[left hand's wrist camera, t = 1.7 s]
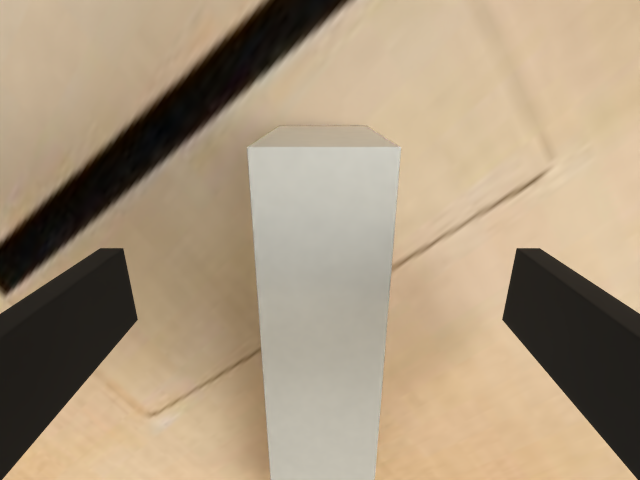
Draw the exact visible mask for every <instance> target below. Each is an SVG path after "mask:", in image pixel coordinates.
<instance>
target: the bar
mask: <svg viewBox="0 0 640 480" xmlns="http://www.w3.org/2000/svg"><path fill="white" fill-rule="evenodd" d="M247 156H248V170H249V184H250V198H251V212H252V226H253V240H254V254H255V268H256V282H257V296H258V310H259V324H260V338H261V352H262V366H263V380H264V394H265V408H266V422H267V436H268V450H269V465H270V479H271V480H375V471H376V458H377V446H378V433H379V421H380V408H381V395H382V383H383V370H384V358H385V345H386V332H387V320H388V307H389V295H390V282H391V269H392V257H393V244H394V231H395V219H396V206H397V194H398V181H399V168H400V156H401V147H400V146H398V145H397V144H395V143H393V142H392V141H390V140H389V139H387V138H386V137H384V136H382V135H381V134H379V133H378V132H376V131H375V130H373V129H371V128H370V127H368V126H278V127H277V128H275V129H274V130H272V131H271V132H269V133H268V134H266V135H265V136H263V137H262V138H260V139H259V140H257V141H256V142H254V143H253V144H251V145H250V146H248V147H247Z"/></svg>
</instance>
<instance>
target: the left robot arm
mask: <svg viewBox="0 0 640 480" xmlns="http://www.w3.org/2000/svg"><path fill="white" fill-rule="evenodd" d="M137 320H138V319H137V314H136V309H135V304H134V299H133V294H132V289H131V284H130V279H129V274H128V269H127V265H126V260H125V255H124V250H123V248H100V249H99V250H97V251H96V252H94V253H93V254H91V255H90V256H88V257H86V258H85V259H83V260H82V261H80V262H79V263H77V264H76V265H74V266H73V267H71V268H70V269H68V270H67V271H65V272H64V273H62V274H61V275H59V276H57V277H56V278H54V279H53V280H51V281H50V282H48V283H47V284H45V285H44V286H42V287H41V288H39V289H38V290H36V291H35V292H33V293H32V294H30V295H28V296H27V297H25V298H24V299H22V300H21V301H19V302H18V303H16V304H15V305H13V306H12V307H10V308H9V309H7V310H6V311H4V312H3V313H1V314H0V480H2V479H3V478H4V477H5V476H6V474H7V473H8V472H9V471H10V470H11V469H12V467H13V466H14V465H15V464H16V463H17V461H18V460H19V459H20V458H21V457H22V456H23V454H24V453H25V452H26V451H27V450H28V448H29V447H30V446H31V445H32V444H33V443H34V441H35V440H36V439H37V438H38V437H39V435H40V434H41V433H42V432H43V431H44V430H45V428H46V427H47V426H48V425H49V424H50V422H51V421H52V420H53V419H54V418H55V417H56V415H57V414H58V413H59V412H60V411H61V409H62V408H63V407H64V406H65V405H66V404H67V402H68V401H69V400H70V399H71V398H72V397H73V395H74V394H75V393H76V392H77V391H78V389H79V388H80V387H81V386H82V385H83V384H84V382H85V381H86V380H87V379H88V378H89V376H90V375H91V374H92V373H93V372H94V371H95V369H96V368H97V367H98V366H99V365H100V363H101V362H102V361H103V360H104V359H105V358H106V356H107V355H108V354H109V353H110V352H111V350H112V349H113V348H114V347H115V346H116V345H117V343H118V342H119V341H120V340H121V339H122V337H123V336H124V335H125V334H126V333H127V332H128V330H129V329H130V328H131V327H132V326H133V325H134V323H135V322H136V321H137ZM502 320H503V321H504V322H505V323H506V325H507V326H508V327H509V328H510V329H511V330H512V332H513V333H514V334H515V335H516V336H517V337H518V339H519V340H520V341H521V342H522V343H523V345H524V346H525V347H526V348H527V349H528V350H529V352H530V353H531V354H532V355H533V356H534V358H535V359H536V360H537V361H538V362H539V363H540V365H541V366H542V367H543V368H544V369H545V371H546V372H547V373H548V374H549V375H550V376H551V378H552V379H553V380H554V381H555V382H556V384H557V385H558V386H559V387H560V388H561V389H562V391H563V392H564V393H565V394H566V395H567V397H568V398H569V399H570V400H571V401H572V402H573V404H574V405H575V406H576V407H577V408H578V409H579V411H580V412H581V413H582V414H583V415H584V417H585V418H586V419H587V420H588V421H589V422H590V424H591V425H592V426H593V427H594V428H595V430H596V431H597V432H598V433H599V434H600V435H601V437H602V438H603V439H604V440H605V441H606V443H607V444H608V445H609V446H610V447H611V448H612V450H613V451H614V452H615V453H616V454H617V456H618V457H619V458H620V459H621V460H622V461H623V463H624V464H625V465H626V466H627V467H628V469H629V470H630V471H631V472H632V473H633V474H634V476H635V477H636V478H637V479H638V480H640V314H639V313H637V312H636V311H634V310H633V309H631V308H630V307H628V306H627V305H625V304H624V303H622V302H621V301H619V300H618V299H616V298H615V297H613V296H612V295H610V294H608V293H607V292H605V291H604V290H602V289H601V288H599V287H598V286H596V285H595V284H593V283H592V282H590V281H589V280H587V279H586V278H584V277H583V276H581V275H579V274H578V273H576V272H575V271H573V270H572V269H570V268H569V267H567V266H566V265H564V264H563V263H561V262H560V261H558V260H557V259H555V258H554V257H552V256H550V255H549V254H547V253H546V252H544V251H543V250H541V249H540V248H517V250H516V255H515V260H514V265H513V269H512V274H511V279H510V284H509V289H508V294H507V299H506V304H505V309H504V314H503V319H502Z"/></svg>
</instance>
